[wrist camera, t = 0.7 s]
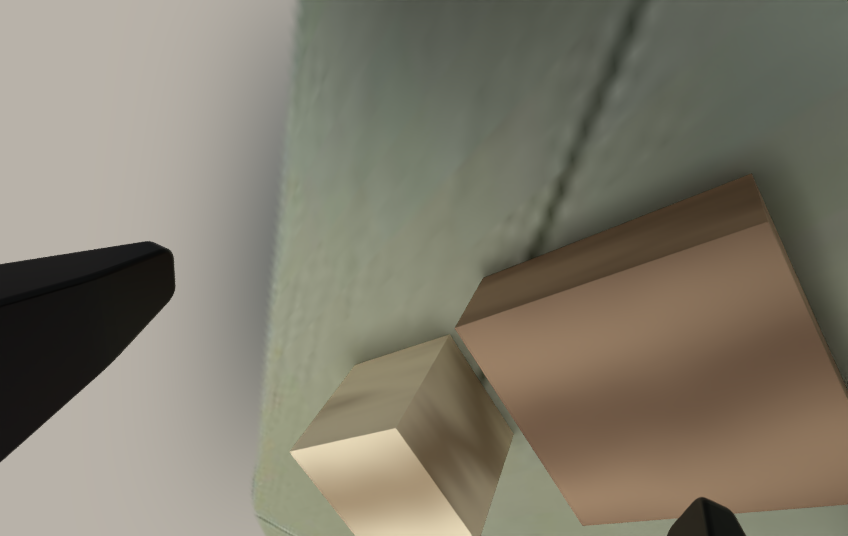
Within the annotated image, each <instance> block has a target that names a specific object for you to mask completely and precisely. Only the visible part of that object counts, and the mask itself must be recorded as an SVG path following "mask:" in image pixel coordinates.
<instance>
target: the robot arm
mask: <svg viewBox="0 0 848 536" xmlns="http://www.w3.org/2000/svg"><path fill="white" fill-rule="evenodd" d="M174 291H175V271H174V257H173V254H172V252H171V251H170V250H169V249H167V248H165V247H163V246H161V245H158V244H156V243H154V242H150V241H145V242H139V243H133V244H126V245H120V246H113V247H107V248H101V249H94V250H88V251H81V252H75V253H69V254H63V255H57V256H50V257H43V258H37V259H30V260H24V261H18V262H12V263H5V264H0V462H1V461H2V460H3V459H5V458H6V457H7V456H8V455H9V454H10V453H11V452H12V451H14V450H15V449H16V448H17V447H18V446H19V445H20V444H22V443H23V442H24V441H25V440H26V439H27V438H28V437H29V436H30V435H32V434H33V433H34V432H35V431H36V430H37V429H38V428H40V427H41V426H42V425H43V424H44V423H45V422H46V421H47V420H49V419H50V418H51V417H52V416H53V415H54V414H55V413H56V412H57V411H59V410H60V409H61V408H62V407H63V406H64V405H65V404H67V403H68V402H69V401H70V400H71V399H72V398H73V397H74V396H75V395H77V394H78V393H79V392H80V391H81V390H82V389H83V388H85V387H86V386H87V385H88V384H89V383H90V382H91V381H92V380H94V379H95V378H96V377H97V376H98V375H99V374H100V373H101V372H102V371H104V370H105V369H106V368H107V367H108V366H109V365H110V364H111V363H112V362H113V361H114V360H115V359H116V358H117V357H118V356H119V355H120V354H121V353H122V352H123V350H124V349H125V348H126V347H127V346H128V345H129V344H130V343H131V342H132V341H133V340H134V339H135V338H136V337H137V335H138V334H139V333H140V332H141V331H142V330H143V329H144V328H145V327H146V326H147V325H148V323H149V322H150V321H151V320H152V319H153V318H154V317H155V316H156V315H157V314H158V313H159V312H160V311H161V309H162V308H163V307H164V306H165V305H166V304H167V303H168V302H169V301H170V299H171V298H172V296H173V294H174ZM667 536H746V535H745V533H744V531H743V529H742V527H741V526H740V524H739V522H738V520H737V518H736V517H735V515H734V514H733V512H732V511H731V510H730V509H728V508H727V507H725V506H723V505H720V504H718V503H716V502H714V501H712V500H710V499H708V498H705V497H699V498H697V499H695V500H694V501H693V502H692V503H691V504H690V506H689V507H688V508H687V509H686V510H685V511H684V513H683V514H682V515H681V516H680V517H679V518H678V519H677V521H676V522H675V523H674V524H673V525H672V527H671V528H670V530H669V532H668V535H667Z"/></svg>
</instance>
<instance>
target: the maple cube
mask: <svg viewBox="0 0 848 536" xmlns="http://www.w3.org/2000/svg"><path fill="white" fill-rule="evenodd" d="M513 435H514V434H513V432H512V431H511V429H510V428H509V426H508V425H507V423H506V421H505V420H504V418H503V417H502V415H501V414H500V412H499V410H498V409H497V407H496V406H495V404H494V403H493V401H492V400H491V398H490V396H489V395H488V393H487V392H486V390H485V389H484V387H483V386H482V384H481V382H480V381H479V379H478V378H477V376H476V375H475V373H474V371H473V370H472V368H471V367H470V365H469V364H468V362H467V361H466V359H465V357H464V356H463V354H462V353H461V351H460V350H459V348H458V347H457V345H456V343H455V342H454V340H453V339H452V337H451V336H450V334H449V335H446V336H443V337H440V338H437V339H434V340H430V341H427V342H424V343H421V344H418V345H415V346H412V347H409V348H406V349H403V350H400V351H396V352H393V353H390V354H387V355H384V356H381V357H378V358H375V359H372V360H369V361H365V362H362V363H359V364H356V365H355V366H354V367H353V368H352V370H351V371H350V372H349V374H348V375H347V376H346V378H345V379H344V380H343V381H342V383H341V384H340V385H339V387H338V388H337V389H336V391H335V392H334V393H333V395H332V396H331V397H330V399H329V400H328V401H327V403H326V404H325V405H324V407H323V408H322V409H321V411H320V412H319V413H318V414H317V416H316V417H315V418H314V420H313V421H312V422H311V424H310V425H309V426H308V428H307V429H306V430H305V432H304V433H303V434H302V436H301V437H300V438H299V440H298V441H297V442H296V444H295V445H294V446H293V447H292V449H291V450H290V451H289V452H290V453H291V455H292V456H293V457H294V458H295V460H296V461H297V462H298V463H299V465H300V466H301V467H302V469H303V470H304V471H305V472H306V474H307V475H308V476H309V477H310V479H311V480H312V481H313V483H314V484H315V485H316V486H317V488H318V489H319V490H320V491H321V493H322V494H323V495H324V496H325V498H326V499H327V500H328V502H329V503H330V504H331V505H332V507H333V508H334V509H335V510H336V512H337V513H338V514H339V516H340V517H341V518H342V519H343V521H344V522H345V523H346V524H347V526H348V527H349V528H350V530H351V531H352V532H353V533H354V535H355V536H481V533H482V530H483V527H484V524H485V521H486V518H487V515H488V512H489V508H490V505H491V502H492V499H493V496H494V493H495V490H496V487H497V484H498V481H499V478H500V475H501V472H502V469H503V466H504V462H505V459H506V456H507V453H508V450H509V447H510V444H511V441H512V438H513Z"/></svg>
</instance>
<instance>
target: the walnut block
mask: <svg viewBox="0 0 848 536" xmlns="http://www.w3.org/2000/svg"><path fill="white" fill-rule="evenodd" d="M455 330H456V331H457V333H458V334H459V336H460V337H461V339H462V340H463V342H464V344H465V345H466V347H467V348H468V350H469V351H470V353H471V354H472V356H473V357H474V359H475V361H476V362H477V364H478V365H479V367H480V368H481V370H482V371H483V373H484V374H485V376H486V377H487V379H488V381H489V382H490V384H491V385H492V387H493V388H494V390H495V391H496V393H497V394H498V396H499V398H500V399H501V401H502V402H503V404H504V405H505V407H506V408H507V410H508V411H509V413H510V414H511V416H512V418H513V419H514V421H515V422H516V424H517V425H518V427H519V428H520V430H521V431H522V433H523V435H524V436H525V438H526V439H527V441H528V442H529V444H530V445H531V447H532V448H533V450H534V451H535V453H536V455H537V456H538V458H539V459H540V461H541V462H542V464H543V465H544V467H545V468H546V470H547V472H548V473H549V475H550V476H551V478H552V479H553V481H554V482H555V484H556V485H557V487H558V488H559V490H560V492H561V493H562V495H563V496H564V498H565V499H566V501H567V502H568V504H569V505H570V507H571V509H572V510H573V512H574V513H575V515H576V516H577V518H578V519H579V521H580V522H581V524H582V525H583V526H586V525H599V524H611V523H623V522H636V521H648V520H660V519H673V518H679V517H680V516H681V515H682V514H683V513H684V511H685V510H686V509H687V508H688V507H689V506H690V504H691V503H692V502H693V501H694V500H695V499H697V498H699V497H705V498H708V499H710V500H712V501H714V502H716V503H718V504H720V505H723V506H725V507H727V508H728V509H730V510H731V511H732V512H733V514H734V513H747V512H759V511H772V510H784V509H796V508H809V507H821V506H833V505H846V504H848V390H847V388H846V386H845V384H844V381H843V379H842V377H841V375H840V372H839V370H838V368H837V366H836V363H835V361H834V359H833V356H832V354H831V352H830V350H829V347H828V345H827V343H826V341H825V338H824V336H823V334H822V332H821V329H820V327H819V325H818V323H817V320H816V318H815V316H814V314H813V311H812V309H811V307H810V305H809V302H808V300H807V298H806V296H805V293H804V291H803V289H802V287H801V284H800V282H799V280H798V277H797V275H796V273H795V271H794V268H793V266H792V264H791V262H790V259H789V257H788V255H787V253H786V250H785V248H784V246H783V244H782V241H781V239H780V237H779V235H778V232H777V230H776V228H775V226H774V223H773V221H772V219H771V217H770V214H769V212H768V210H767V208H766V205H765V203H764V201H763V198H762V196H761V194H760V192H759V189H758V187H757V185H756V183H755V180H754V178H753V176H752V174H749V175H746V176H744V177H741V178H739V179H736V180H734V181H731V182H728V183H726V184H723V185H721V186H718V187H716V188H713V189H710V190H708V191H705V192H703V193H700V194H698V195H695V196H692V197H690V198H687V199H685V200H682V201H680V202H677V203H675V204H672V205H669V206H667V207H664V208H662V209H659V210H657V211H654V212H651V213H649V214H646V215H644V216H641V217H639V218H636V219H633V220H631V221H628V222H626V223H623V224H621V225H618V226H615V227H613V228H610V229H608V230H605V231H603V232H600V233H597V234H595V235H592V236H590V237H587V238H585V239H582V240H579V241H577V242H574V243H572V244H569V245H567V246H564V247H561V248H559V249H556V250H554V251H551V252H549V253H546V254H543V255H541V256H538V257H536V258H533V259H531V260H528V261H525V262H523V263H520V264H518V265H515V266H513V267H510V268H507V269H505V270H502V271H500V272H497V273H495V274H492V275H489V276H487V277H484V278H483V279H482V281H481V283H480V284H479V286H478V288H477V290H476V292H475V293H474V295H473V297H472V299H471V300H470V302H469V304H468V306H467V307H466V309H465V311H464V313H463V314H462V316H461V318H460V320H459V321H458V323H457V325H456V327H455Z"/></svg>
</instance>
